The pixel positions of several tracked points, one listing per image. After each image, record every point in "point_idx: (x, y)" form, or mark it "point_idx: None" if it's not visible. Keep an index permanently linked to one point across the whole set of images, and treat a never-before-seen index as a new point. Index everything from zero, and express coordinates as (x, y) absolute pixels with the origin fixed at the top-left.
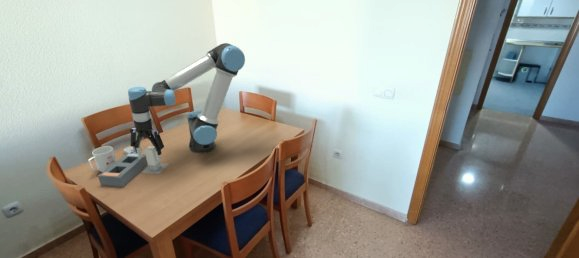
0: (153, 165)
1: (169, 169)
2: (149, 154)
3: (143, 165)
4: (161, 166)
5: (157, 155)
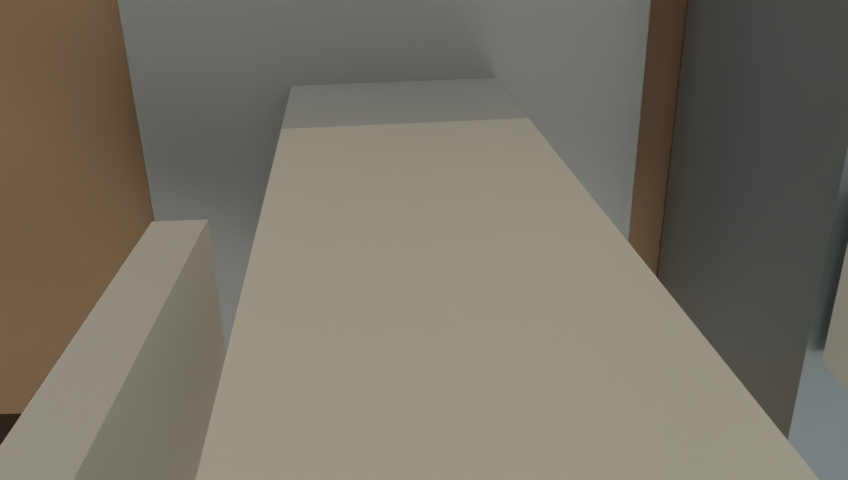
0: (345, 124)
1: (37, 214)
2: (439, 326)
3: (709, 175)
4: None
5: (59, 380)
